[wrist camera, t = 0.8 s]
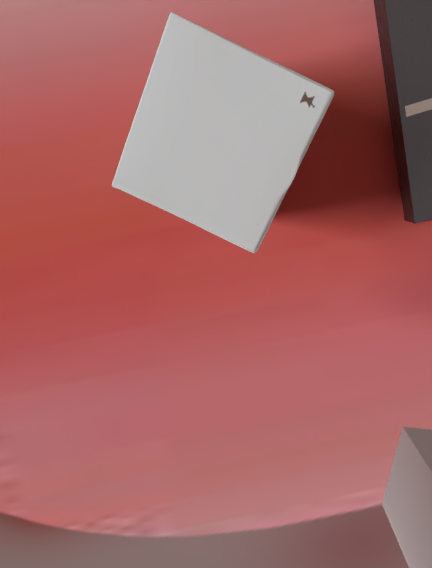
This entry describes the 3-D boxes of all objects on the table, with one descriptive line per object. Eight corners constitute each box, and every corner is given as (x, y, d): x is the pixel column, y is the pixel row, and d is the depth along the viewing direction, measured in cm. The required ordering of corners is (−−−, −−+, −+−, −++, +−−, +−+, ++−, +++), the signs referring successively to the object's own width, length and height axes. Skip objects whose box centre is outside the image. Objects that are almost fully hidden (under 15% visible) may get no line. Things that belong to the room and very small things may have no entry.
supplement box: (201, 78, 31) (169, -2, 17) (296, 125, 32) (343, 87, 17) (162, 180, 34) (104, 186, 19) (250, 221, 34) (257, 257, 20)
